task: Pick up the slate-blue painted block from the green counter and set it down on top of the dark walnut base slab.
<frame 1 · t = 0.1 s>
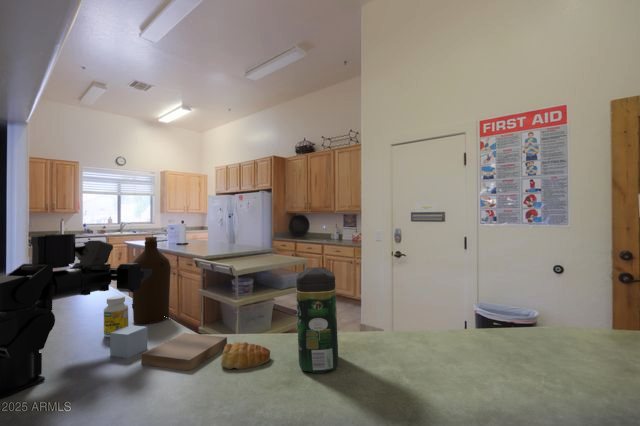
hand: (137, 271, 78), 17 cm above the counter, tool horizontal, fingers open, 9 cm apart
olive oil: (151, 320, 91), on the counter
pastry: (243, 363, 61), on the counter
base slab: (186, 354, 65), on the counter
block: (129, 352, 68), on the counter
supplement bottle: (116, 334, 79), on the counter
coffee jar: (318, 364, 59), on the counter
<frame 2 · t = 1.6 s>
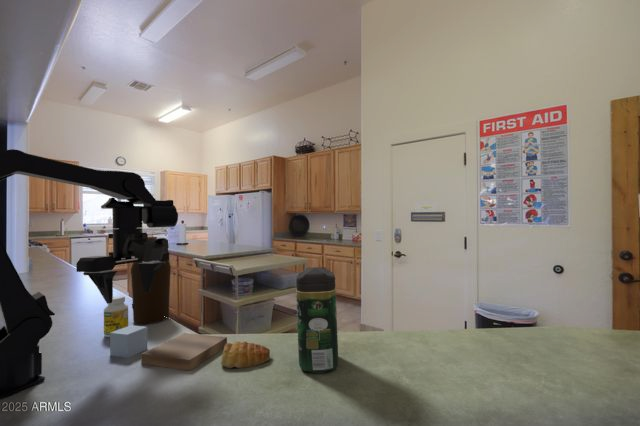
hand: (128, 297, 68), 12 cm above the counter, tool pointing down, fingers open, 9 cm apart
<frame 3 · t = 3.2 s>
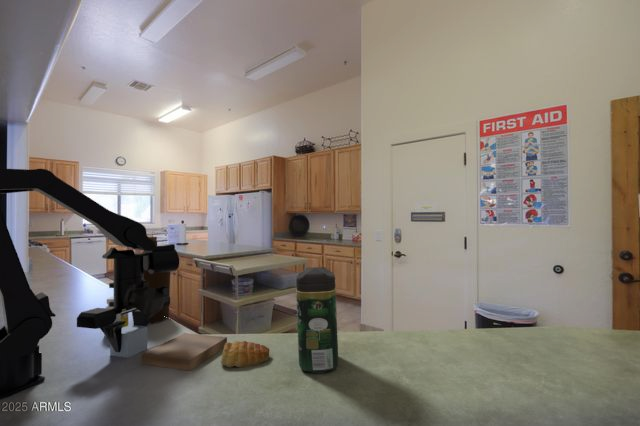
hand: (129, 347, 68), 1 cm above the counter, tool pointing down, fingers closed on block, 5 cm apart
block: (129, 351, 68), on the counter, touching gripper
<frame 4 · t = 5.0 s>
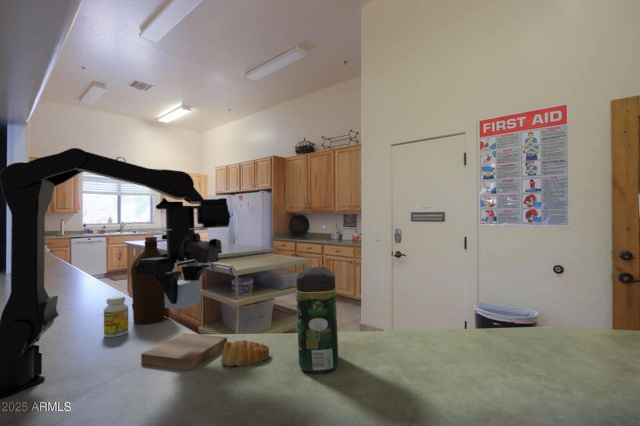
hand: (182, 300, 66), 11 cm above the counter, tool pointing down, fingers closed on block, 5 cm apart
block: (183, 305, 66), point 10 cm above the counter, touching gripper
when the fingers open (4 cm above the counter, at t = 6.7 s): block drops 1 cm, resting on base slab.
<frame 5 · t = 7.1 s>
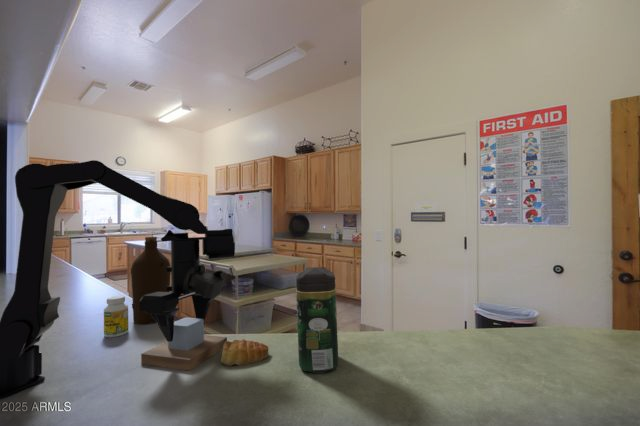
hand: (186, 333, 65), 4 cm above the counter, tool pointing down, fingers open, 9 cm apart
block: (186, 345, 65), point 2 cm above the counter, touching base slab
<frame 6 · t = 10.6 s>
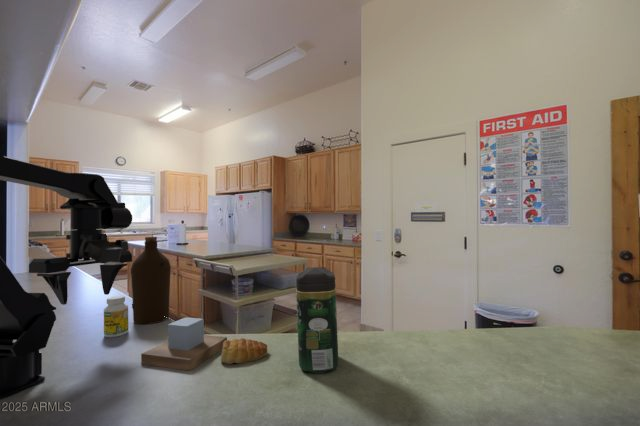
hand: (86, 299, 68), 12 cm above the counter, tool pointing down, fingers open, 9 cm apart
at the end: block inside the target area on the base slab (0.0 cm from its centre), point 2.0 cm above the base slab's base; block tilted 0°; the gripper is holding nothing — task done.
